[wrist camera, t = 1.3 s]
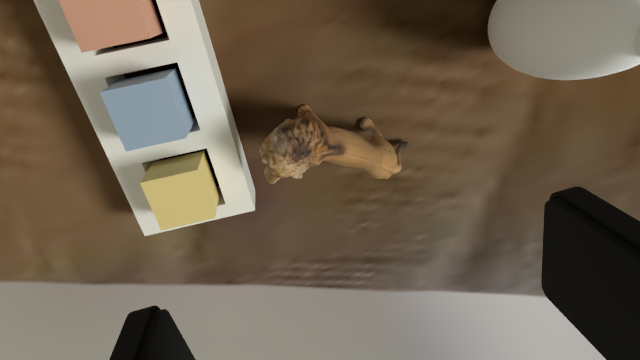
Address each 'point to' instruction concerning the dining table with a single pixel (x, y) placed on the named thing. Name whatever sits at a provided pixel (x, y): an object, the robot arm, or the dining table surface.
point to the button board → (203, 89)
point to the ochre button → (181, 190)
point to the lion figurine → (326, 148)
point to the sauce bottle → (566, 36)
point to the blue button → (148, 109)
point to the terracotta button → (110, 22)
